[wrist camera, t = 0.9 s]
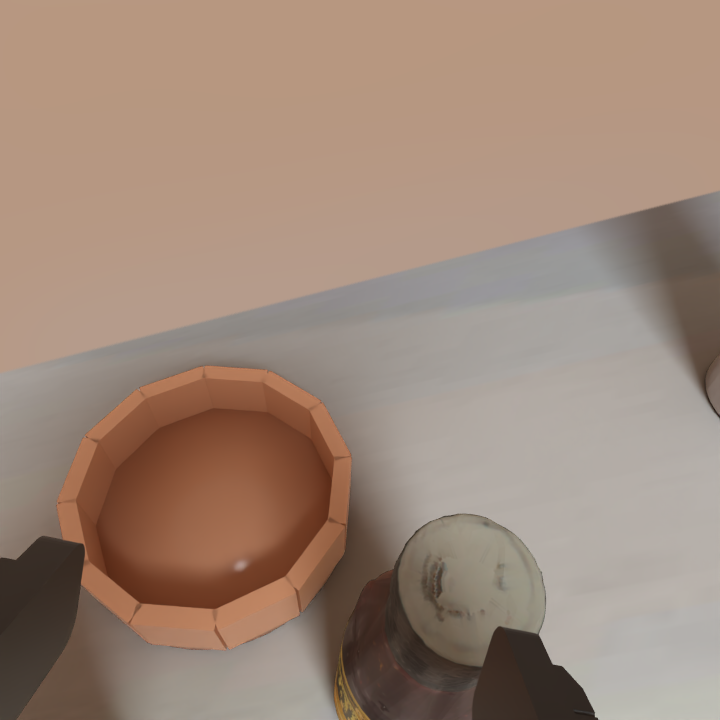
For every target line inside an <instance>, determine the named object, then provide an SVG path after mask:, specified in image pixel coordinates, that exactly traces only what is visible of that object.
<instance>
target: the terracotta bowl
mask: <svg viewBox="0 0 720 720" xmlns="http://www.w3.org/2000/svg"><path fill="white" fill-rule="evenodd" d="M139 388H140V391H141V392H140V391H139V390H137V389H136V390H135V391H134V392H133V393H132V394H130V395H129V396H128V397H127V398H126V399H125V400H124V401H123V402H121V403H120V404H119V405H118V406H117V407H116V408H115V409H114V410H112V411H111V412H110V413H109V414H108V415H107V416H106V417H105V418H103V419H102V420H101V421H100V422H99V423H98V424H97V425H96V426H94V427H93V428H92V429H91V430H90V431H89V432H88V433H87V434H85V436H86V438H83V439H82V441H81V444H80V446H79V448H78V451H77V453H76V456H75V458H74V461H73V463H72V465H71V468H70V470H69V473H68V475H67V478H66V480H65V482H64V485H63V487H62V490H61V492H60V495H59V497H58V500H57V503H58V504H57V505H56V506H57V511H58V517H59V522H60V527H61V532H62V537H63V540H67V541H72V542H77V543H82V544H84V546H85V558H84V565H83V572H82V579H81V585H82V586H83V587H84V588H85V589H86V590H87V591H88V592H89V593H90V594H91V595H92V596H93V597H94V598H95V599H97V600H98V601H99V602H100V603H101V604H102V605H104V606H105V607H106V608H107V609H108V610H109V611H111V612H112V613H113V614H114V615H115V616H116V617H118V618H119V619H120V620H121V621H122V622H123V623H124V624H126V625H127V626H128V627H129V628H131V629H132V630H133V631H134V632H135V633H136V634H138V635H139V636H140V637H141V638H142V639H144V640H145V641H146V642H147V643H148V642H149V643H150V644H153V645H165V646H171V647H177V648H183V649H190V650H211V649H215V650H226V649H227V647H228V648H229V650H230V649H232V648H234V647H236V646H238V645H240V644H243V643H246V642H249V641H252V640H254V639H256V638H259V637H261V636H264V635H266V634H268V633H270V632H271V631H273V630H275V629H277V628H278V627H280V626H282V625H284V624H285V623H286V622H287V621H289V620H291V619H293V618H295V617H297V616H299V615H300V611H301V612H302V613H303V612H304V610H305V609H306V607H307V606H308V604H309V603H310V602H311V601H312V600H313V598H314V597H315V596H316V595H317V593H318V592H319V591H320V590H321V588H322V587H323V586H324V585H325V583H326V581H327V580H328V578H329V576H330V575H331V573H332V571H333V570H334V568H335V566H336V564H337V563H338V562H339V560H340V559H341V557H342V556H343V555H344V551H345V548H346V536H347V524H348V513H349V501H350V489H351V462H352V457H351V454H350V452H349V450H348V448H347V446H346V444H345V442H344V441H343V439H342V437H341V435H340V433H339V431H338V429H337V428H336V426H335V424H334V422H333V420H332V418H331V417H330V415H329V413H328V411H327V409H326V407H325V405H324V404H323V403H321V400H319V399H317V398H316V397H314V396H312V395H311V394H309V393H307V392H306V391H304V390H302V389H300V388H299V387H297V386H295V385H294V384H292V383H290V382H289V381H287V380H285V379H283V378H282V377H280V376H278V375H277V374H275V373H273V372H272V371H269V372H268V370H261V369H247V368H233V367H219V366H205V368H204V369H203V366H201V367H198V368H195V369H192V370H189V371H186V372H183V373H180V374H177V375H174V376H171V377H168V378H166V379H163V380H160V381H157V382H154V383H151V384H148V385H145V386H142V387H139Z"/></svg>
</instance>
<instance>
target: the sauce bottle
mask: <svg viewBox="0 0 720 720" xmlns="http://www.w3.org/2000/svg"><path fill="white" fill-rule="evenodd" d="M545 609H546V593H545V587H544V583H543V578H542V572H541V571H540V569H539V568H538V566H537V563H536V561H535V558H534V557H533V555H532V554H531V553H530V551H529V550H528V548H527V547H526V546H525V545H524V543H523V542H522V541H521V540H520V539H519V538H518V537H517V536H516V535H515V534H513V533H512V532H511V531H509V530H508V529H506V528H504V527H502V526H500V525H499V524H497V523H495V522H493V521H492V520H490V519H488V518H485V517H482V516H478V515H472V514H455V515H451V516H443V517H441V518H439V519H436V520H433V521H430V522H429V523H427V524H425V525H424V526H422V527H421V528H420V529H418V530H417V531H416V532H415V534H414V535H413V536H412V537H411V538H410V539H409V540H408V542H407V543H406V544H405V547H404V549H403V551H402V552H401V554H400V556H399V558H398V560H397V561H396V564H395V566H394V569H393V570H390V571H387V572H385V573H383V574H382V575H380V576H379V577H378V578H377V579H376V580H371V581H369V582H368V583H367V585H366V586H365V587H364V589H363V590H362V593H361V595H360V598H359V600H358V602H357V605H356V607H355V609H354V611H353V613H352V615H351V617H350V619H349V621H348V623H347V625H346V628H345V631H344V635H343V640H342V645H341V650H340V656H339V662H338V667H337V673H336V679H335V688H334V701H335V707H336V711H337V715H338V718H339V720H472V704H473V697H474V692H475V689H476V685H477V682H478V679H479V676H480V673H481V670H482V666H483V663H484V660H485V657H486V654H487V651H488V647H489V644H490V641H491V638H492V635H493V633H494V631H495V629H496V628H497V627H499V626H501V627H507V628H512V629H517V630H522V631H527V632H532V633H536V634H538V635H539V632H540V629H541V627H542V624H543V621H544V617H545Z"/></svg>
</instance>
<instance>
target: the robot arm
mask: <svg viewBox="0 0 720 720" xmlns="http://www.w3.org/2000/svg"><path fill="white" fill-rule="evenodd" d="M705 383H706V391H707V394H708V397H709V400H710V402H711V403H712V405H713V407H714V408H715V410H716V412H717V413H718V414H719V415H720V354H719V355H718V357H717V358H716V359H715V360H714V362H713V363H712V364H711V366H710V367H709V369H708V371H707V374H706V379H705ZM84 558H85V546H84V544H82V543H77V542H72V541H67V540H62V539H56V538H51V537H46V536H41V537H40V538H38V539H37V540H36V541H35V542H34V543H33V544H32V545H31V546H30V547H29V548H28V549H27V550H26V551H25V552H24V553H23V554H22V555H21V556H20V557H19V558H18V559H17V560H12V559H7V558H0V720H16V719H17V718H18V716H19V715H20V713H21V712H22V710H23V709H24V707H25V706H26V704H27V703H28V702H29V700H30V699H31V697H32V696H33V694H34V693H35V691H36V690H37V688H38V687H39V685H40V684H41V682H42V681H43V679H44V678H45V677H46V675H47V674H48V672H49V671H50V669H51V668H52V666H53V665H54V663H55V662H56V660H57V659H58V657H59V656H60V654H61V653H62V651H63V650H64V648H65V646H66V644H67V642H68V640H69V637H70V635H71V632H72V629H73V626H74V623H75V619H76V614H77V607H78V600H79V593H80V586H81V579H82V572H83V565H84ZM472 720H598V718H596V717H595V712H594V710H593V708H592V706H591V704H590V702H589V700H588V698H587V696H586V694H585V692H584V690H583V688H582V687H581V686H580V685H579V684H578V683H577V682H576V681H575V680H574V679H573V678H572V676H571V675H570V674H569V673H568V672H567V671H566V670H565V669H564V668H563V667H562V666H558V665H553V664H552V662H551V660H550V658H549V656H548V654H547V651H546V649H545V647H544V645H543V643H542V641H541V639H540V637H539V635H538V634H536V633H532V632H527V631H522V630H517V629H512V628H507V627H501V626H499V627H497V628H496V629H495V631H494V633H493V635H492V638H491V641H490V644H489V647H488V651H487V654H486V657H485V660H484V663H483V666H482V670H481V673H480V676H479V679H478V682H477V685H476V689H475V692H474V697H473V704H472Z"/></svg>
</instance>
